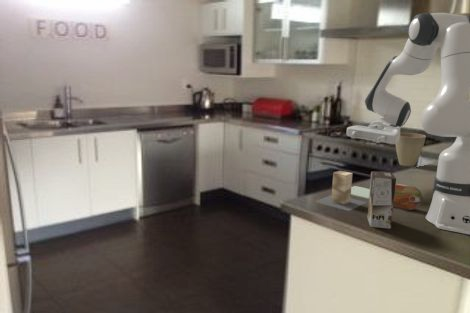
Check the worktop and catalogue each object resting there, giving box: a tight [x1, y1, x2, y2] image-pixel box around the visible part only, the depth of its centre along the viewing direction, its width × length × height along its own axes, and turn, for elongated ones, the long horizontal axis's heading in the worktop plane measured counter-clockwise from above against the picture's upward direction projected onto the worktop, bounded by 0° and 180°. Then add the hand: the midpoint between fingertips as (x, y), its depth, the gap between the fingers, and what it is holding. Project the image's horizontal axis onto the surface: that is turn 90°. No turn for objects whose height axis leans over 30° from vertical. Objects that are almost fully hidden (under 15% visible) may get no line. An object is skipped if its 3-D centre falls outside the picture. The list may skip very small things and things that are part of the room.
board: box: [351, 185, 370, 200], centre depth 163 cm, size 14×12×1 cm
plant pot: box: [394, 132, 427, 167], centre depth 214 cm, size 15×15×16 cm
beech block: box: [331, 170, 353, 205], centre depth 150 cm, size 5×5×11 cm
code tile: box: [314, 194, 368, 212], centre depth 152 cm, size 14×14×1 cm
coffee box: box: [366, 170, 397, 230], centre depth 130 cm, size 9×6×16 cm
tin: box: [393, 183, 423, 211], centre depth 147 cm, size 15×3×8 cm, turn 57°
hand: (364, 138), depth 159 cm, fingers open, 8 cm apart
